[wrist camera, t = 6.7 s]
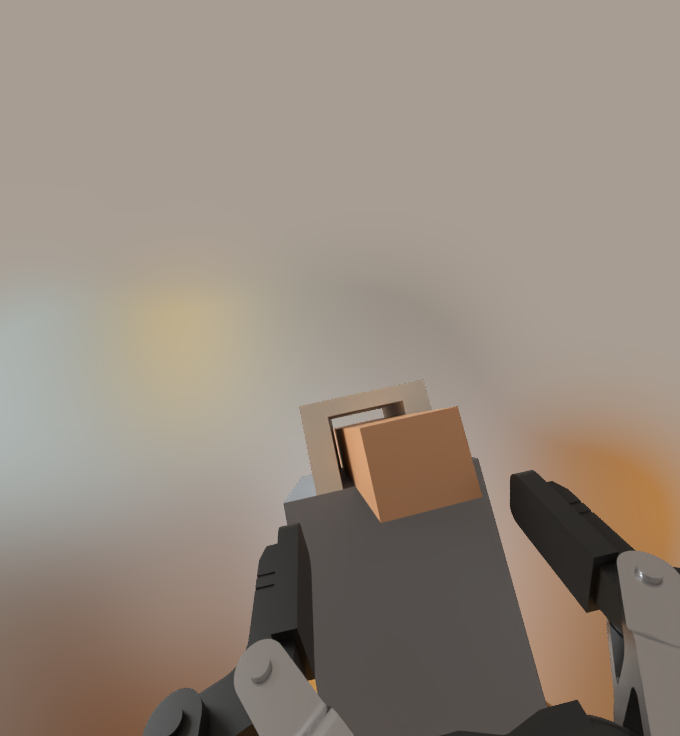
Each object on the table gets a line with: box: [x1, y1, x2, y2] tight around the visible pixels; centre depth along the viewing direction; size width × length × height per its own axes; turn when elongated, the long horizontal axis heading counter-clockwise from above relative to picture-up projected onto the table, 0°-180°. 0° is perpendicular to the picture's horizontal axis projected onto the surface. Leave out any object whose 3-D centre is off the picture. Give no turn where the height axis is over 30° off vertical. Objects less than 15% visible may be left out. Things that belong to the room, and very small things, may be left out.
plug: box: [333, 406, 482, 523], centre depth 23 cm, size 4×22×4 cm, turn 4°
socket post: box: [284, 380, 547, 736], centre depth 23 cm, size 12×10×36 cm
